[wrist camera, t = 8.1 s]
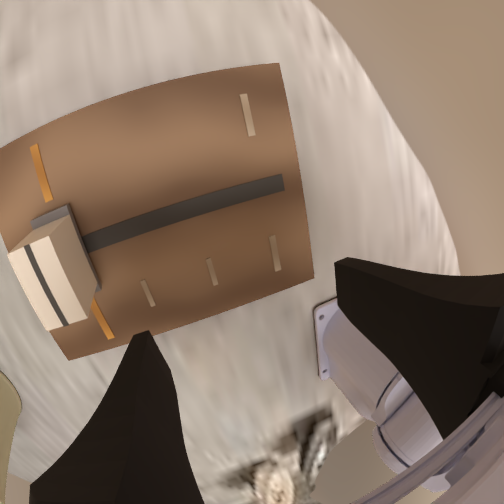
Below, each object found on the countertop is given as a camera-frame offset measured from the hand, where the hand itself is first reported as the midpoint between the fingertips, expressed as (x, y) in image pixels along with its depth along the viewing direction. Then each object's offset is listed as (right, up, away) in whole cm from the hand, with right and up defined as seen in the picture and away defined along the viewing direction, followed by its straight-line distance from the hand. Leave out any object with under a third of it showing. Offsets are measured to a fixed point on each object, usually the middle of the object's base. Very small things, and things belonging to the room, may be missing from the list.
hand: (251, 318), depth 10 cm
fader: (-10, +2, +3) cm, 11 cm away
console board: (-6, +5, +6) cm, 10 cm away
